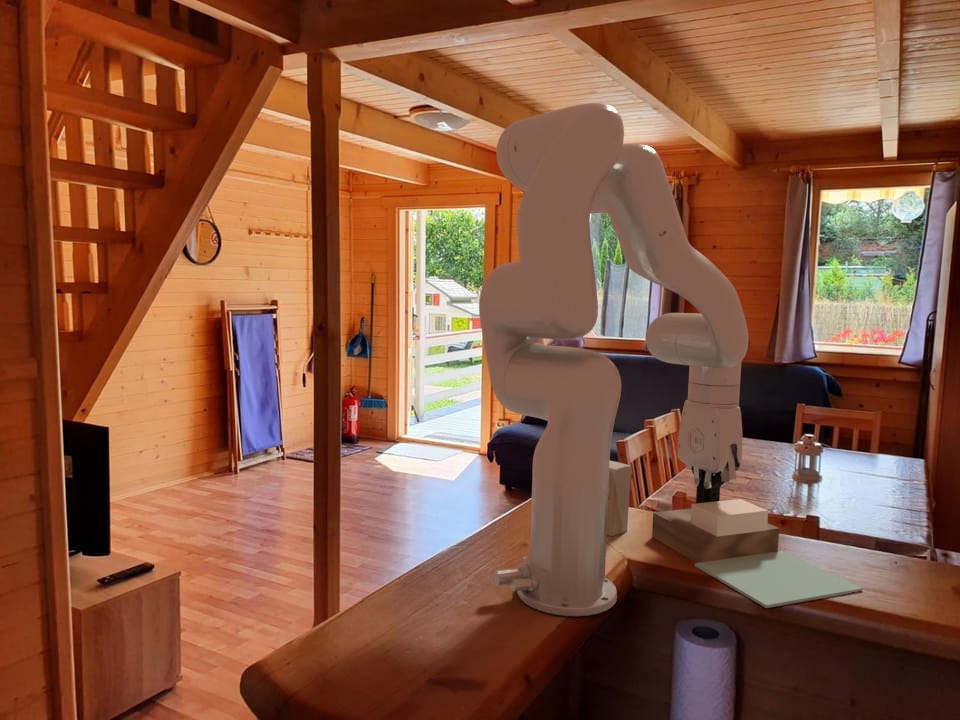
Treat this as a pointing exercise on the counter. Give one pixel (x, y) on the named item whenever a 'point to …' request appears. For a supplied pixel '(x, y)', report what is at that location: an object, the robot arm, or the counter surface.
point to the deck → (709, 538)
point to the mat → (777, 578)
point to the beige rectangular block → (729, 517)
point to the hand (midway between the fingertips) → (707, 510)
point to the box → (618, 498)
